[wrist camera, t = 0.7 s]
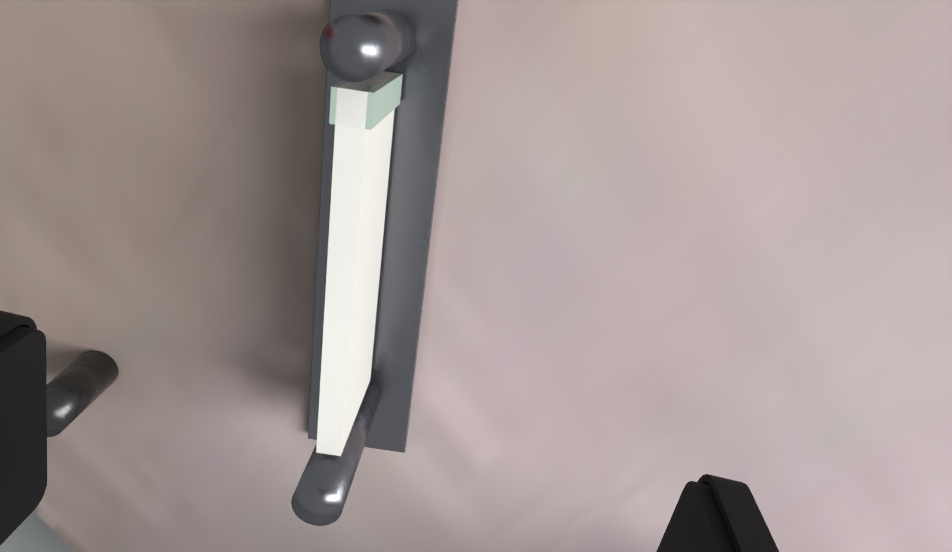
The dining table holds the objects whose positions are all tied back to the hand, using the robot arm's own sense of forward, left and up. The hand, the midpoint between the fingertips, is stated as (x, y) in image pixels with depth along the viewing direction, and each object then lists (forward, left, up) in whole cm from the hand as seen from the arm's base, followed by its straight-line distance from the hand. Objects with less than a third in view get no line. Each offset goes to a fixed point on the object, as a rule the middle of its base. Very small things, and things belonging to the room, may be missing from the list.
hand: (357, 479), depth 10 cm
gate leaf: (-4, +4, -21) cm, 21 cm away
